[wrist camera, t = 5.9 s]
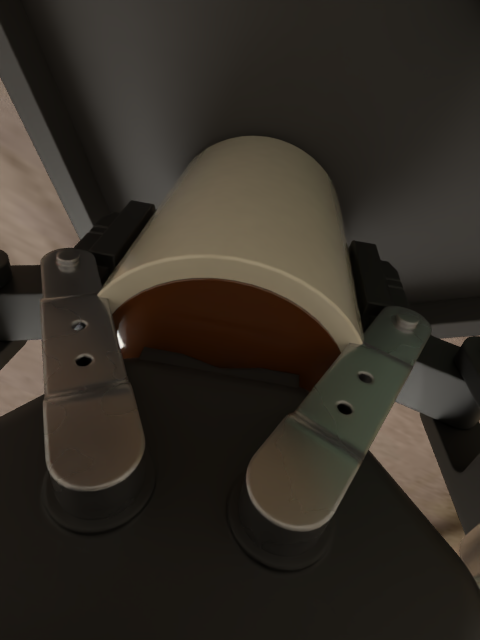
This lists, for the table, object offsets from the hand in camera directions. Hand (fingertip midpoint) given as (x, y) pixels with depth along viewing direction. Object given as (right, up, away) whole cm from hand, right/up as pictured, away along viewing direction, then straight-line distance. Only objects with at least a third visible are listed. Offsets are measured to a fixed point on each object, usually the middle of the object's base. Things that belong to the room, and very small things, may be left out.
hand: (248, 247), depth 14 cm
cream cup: (0, 0, +2) cm, 2 cm away
